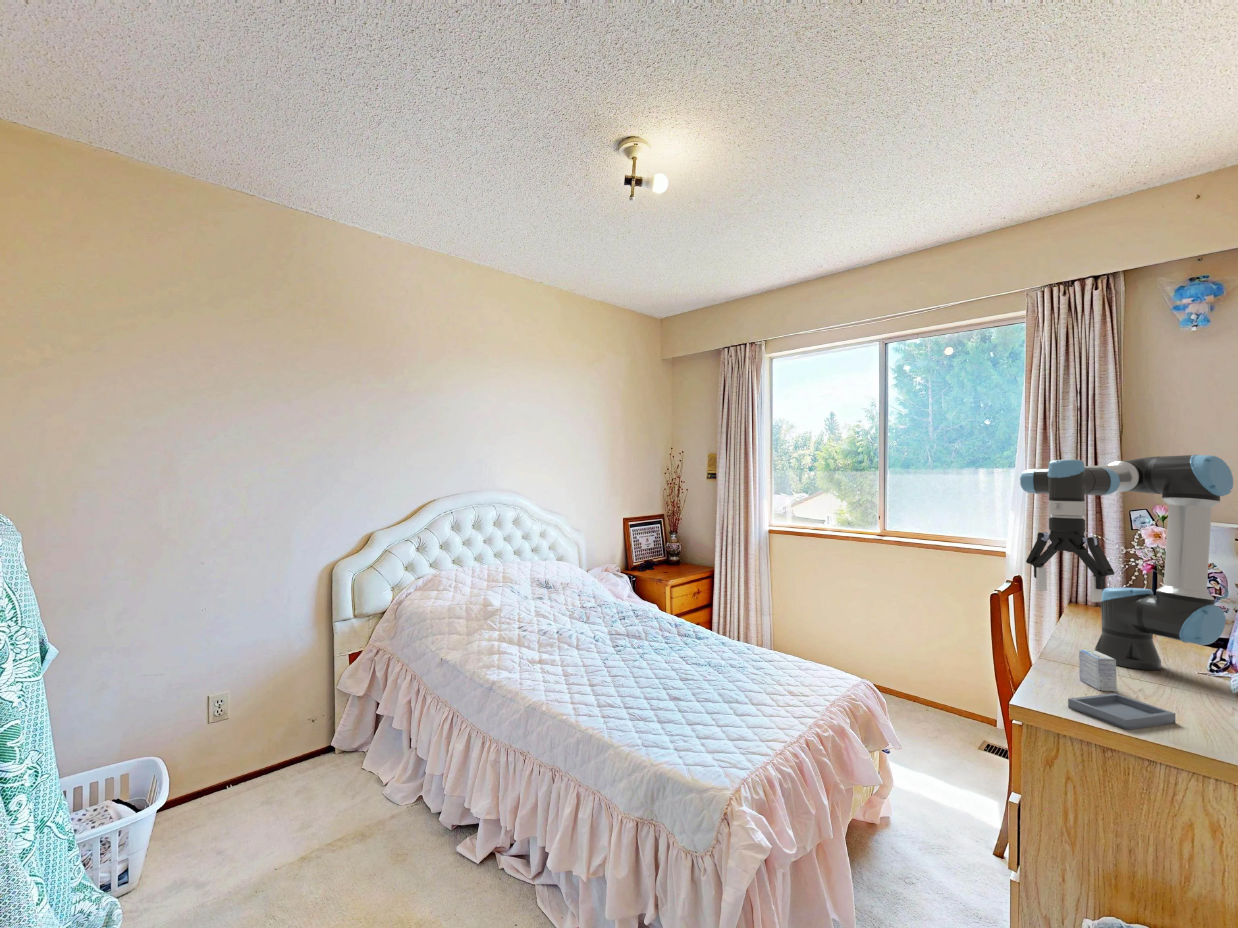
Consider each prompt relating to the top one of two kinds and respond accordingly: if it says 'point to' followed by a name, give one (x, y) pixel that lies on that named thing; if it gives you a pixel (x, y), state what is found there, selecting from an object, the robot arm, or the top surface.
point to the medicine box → (1098, 670)
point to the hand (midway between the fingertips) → (1067, 596)
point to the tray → (1122, 711)
